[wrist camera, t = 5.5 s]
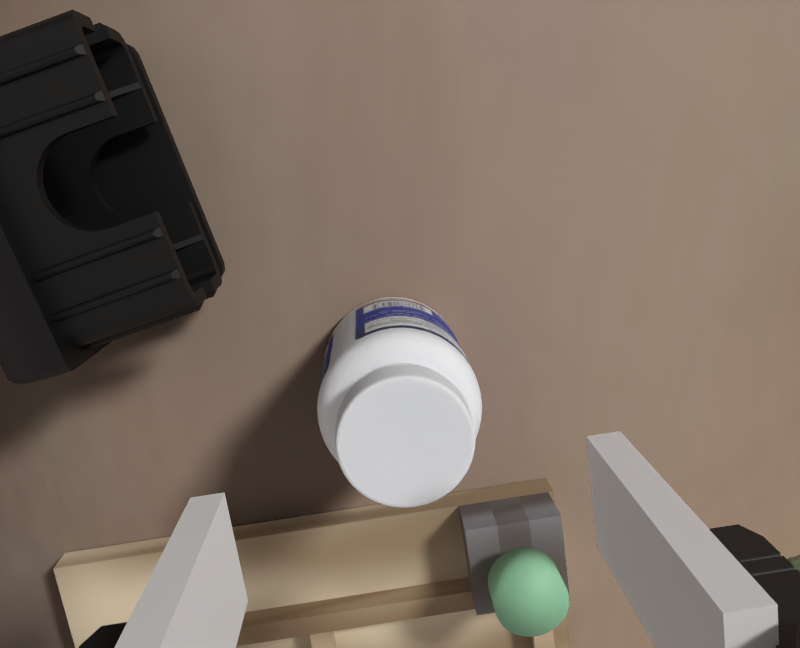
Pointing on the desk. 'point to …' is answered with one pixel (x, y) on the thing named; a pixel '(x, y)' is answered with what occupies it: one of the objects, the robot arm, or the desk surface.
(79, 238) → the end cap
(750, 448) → the desk surface
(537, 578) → the button
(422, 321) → the pill bottle
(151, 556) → the wooden compartment tray
